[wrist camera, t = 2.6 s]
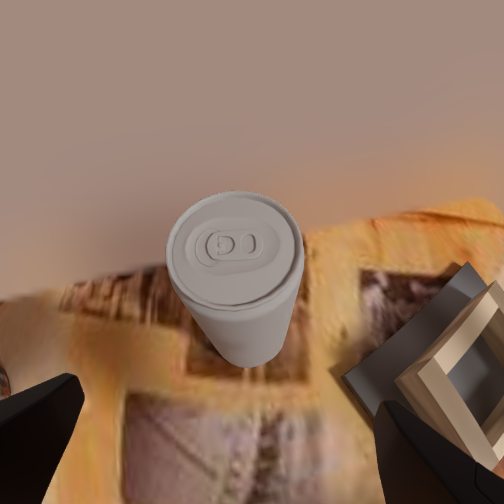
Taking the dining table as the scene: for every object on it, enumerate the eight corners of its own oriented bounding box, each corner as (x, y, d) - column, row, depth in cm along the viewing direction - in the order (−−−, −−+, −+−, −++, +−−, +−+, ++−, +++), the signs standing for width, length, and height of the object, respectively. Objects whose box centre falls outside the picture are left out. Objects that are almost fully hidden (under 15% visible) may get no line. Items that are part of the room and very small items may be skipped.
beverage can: (214, 304, 21) (168, 193, 11) (281, 300, 21) (297, 184, 11) (215, 370, 19) (154, 316, 9) (287, 366, 19) (317, 308, 9)
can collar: (439, 512, 12) (470, 524, 8) (340, 377, 18) (361, 367, 14) (538, 383, 15) (570, 371, 11) (462, 266, 22) (488, 239, 18)
